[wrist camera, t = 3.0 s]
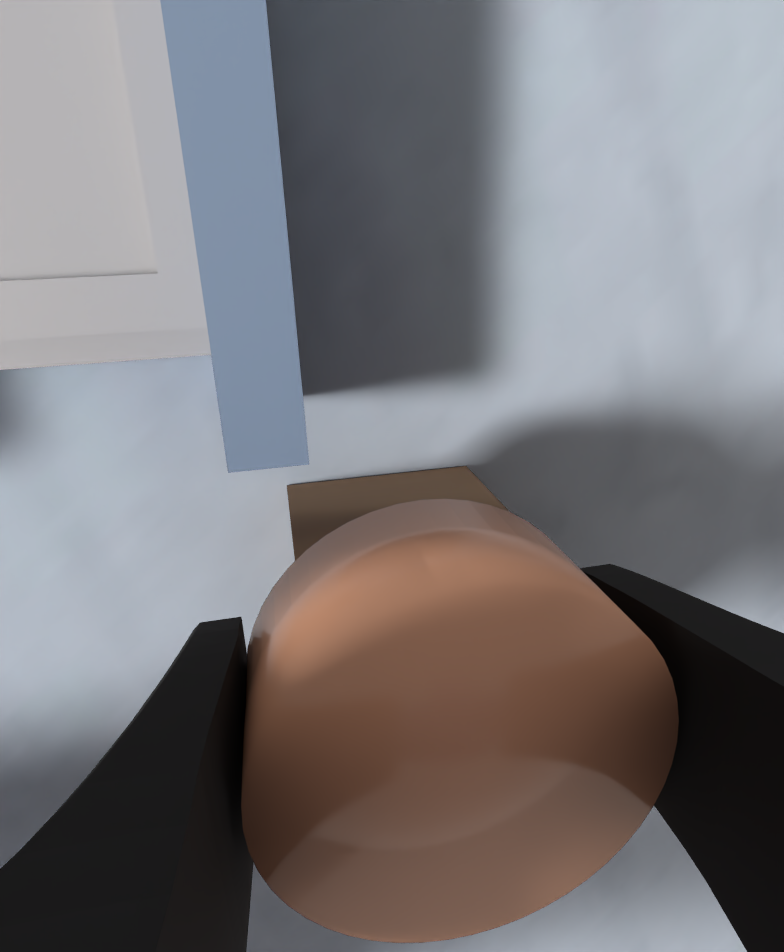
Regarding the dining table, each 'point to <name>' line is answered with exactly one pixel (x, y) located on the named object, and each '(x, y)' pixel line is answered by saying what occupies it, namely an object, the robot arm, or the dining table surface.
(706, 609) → the robot arm
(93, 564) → the dining table surface
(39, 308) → the tray
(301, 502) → the brown cube block
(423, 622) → the cylinder
